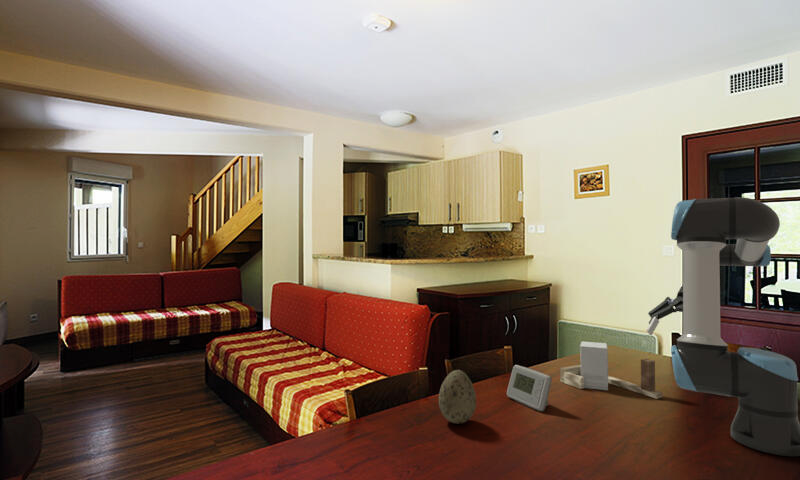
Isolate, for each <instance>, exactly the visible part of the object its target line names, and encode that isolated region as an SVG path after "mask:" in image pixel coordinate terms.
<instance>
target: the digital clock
mask: <svg viewBox="0 0 800 480" xmlns="http://www.w3.org/2000/svg"><path fill="white" fill-rule="evenodd" d="M551 386H552V377H551V376H550V375H548V374H544V373H542V372H540V371H538V370H535V369H532V368H529V367H526V366H522V365H518V364H515V365H514V366H513V367H512V370H511V375H510V379H509V382H508V386H507V390H506V397H508V398H510V399H512V400H514V401H515V402H517V403H519V404H522V405H523V406H526V407H528V408H530V409H533V410H536V411H539V412H544V411H545V409H546V407H548V405H549V393H550V391H551Z"/></svg>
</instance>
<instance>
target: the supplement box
mask: <svg viewBox="0 0 800 480" xmlns="http://www.w3.org/2000/svg"><path fill="white" fill-rule="evenodd" d="M579 347H580V349H579V353H580V355H579V357H580V359H579V360H580V364H581V376H582V377H584V389H592V390H600V391H609V383H608V376H609V357H608V356H609V353H608V352H609V351H608V350H609V349H608V344H607V343H606V342H595V341H594V342H593V341H581V342H580V346H579Z"/></svg>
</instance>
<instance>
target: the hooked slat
mask: <svg viewBox="0 0 800 480" xmlns="http://www.w3.org/2000/svg"><path fill="white" fill-rule="evenodd" d="M559 376H560V382H561V383H563V384H566V385H568V386H572V387H574V388H577V389H580V390H584V389H585V388H584V377H582V376H581V363H580V364H576V365H575V364H574V365H569V366H564V367H560V375H559ZM608 384H610V385H613V386H617V387H619V388H623V389H625V390H629V391H631V392H635V393H638V394H641V395H644V396H647V397H650V398H653V399H656V400H658V399H663V392H662V391H659V390H656V361H655V359H649V358H643V359H640V384H636V383H634V382H629V381H626V380H623V379H619V378H617V377H614V376H610V375H608Z"/></svg>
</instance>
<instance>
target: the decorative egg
mask: <svg viewBox="0 0 800 480" xmlns="http://www.w3.org/2000/svg"><path fill="white" fill-rule="evenodd" d="M438 406H439V409H440V412H441V414H442V415H443V417H444V418H445V419H446V420H447V421H449V422H450V423H452V424H455V425H456V424H457V425H459V424H464V423H466V422H468V421H469V420H470V419H471V418H473V415H474V413H475V411H476V408H477V396H476V390H475V388H474V384H473V382H472V381H471V379H470V377H469V376H468V375H467V374H466V372H465V371H463V370H461V369H455V370H453V371H450V372H449V373H448V374H447V376H446V377H445V378H444V380H443V382H442V384H441V386H440V389H439V394H438Z"/></svg>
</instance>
